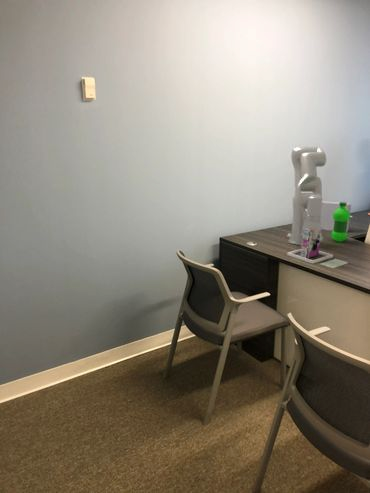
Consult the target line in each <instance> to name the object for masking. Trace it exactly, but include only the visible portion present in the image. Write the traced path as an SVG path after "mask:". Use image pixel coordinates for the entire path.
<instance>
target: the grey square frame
mask: <svg viewBox="0 0 370 493" xmlns="http://www.w3.org/2000/svg"><path fill="white" fill-rule="evenodd" d="M298 253H301V248H300V249H299V248H298V249H295V250H292V251H288V252H287V253H286V255H287V256H289V257H291V258H295V259H298V260H301V261H303V262H307V263H310V264H317V263H319V262H323V261H327V260H329V259H332V258H334V254H332V253H328V252H325V251H323V250H319V255H322V257H319V258H316V259H315V258H314V259H309V258H304V257H301V256H300V255H298Z"/></svg>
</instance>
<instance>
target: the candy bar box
mask: <svg viewBox="0 0 370 493" xmlns="http://www.w3.org/2000/svg"><path fill="white" fill-rule="evenodd" d="M322 230H323V229H322ZM322 230H321V232H322ZM312 235H313V230H310V229H303V235H302V245H300V249H301V252H300V254H299V256H301V257H304V258H307V259H309V258H313V257H316V256H319V255H320V254H319V251H320V245H321V241H320V242H319V243H318V245H317V250H314V251H313V250H312V248H313V244H314V239H312ZM318 240H319V238H318Z"/></svg>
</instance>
